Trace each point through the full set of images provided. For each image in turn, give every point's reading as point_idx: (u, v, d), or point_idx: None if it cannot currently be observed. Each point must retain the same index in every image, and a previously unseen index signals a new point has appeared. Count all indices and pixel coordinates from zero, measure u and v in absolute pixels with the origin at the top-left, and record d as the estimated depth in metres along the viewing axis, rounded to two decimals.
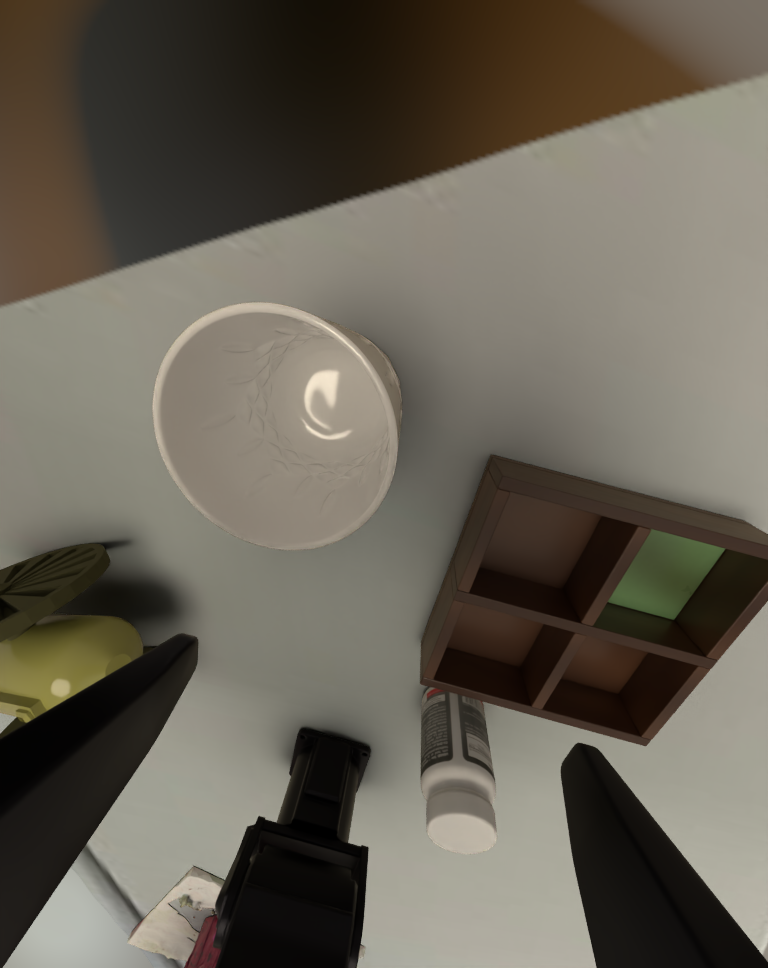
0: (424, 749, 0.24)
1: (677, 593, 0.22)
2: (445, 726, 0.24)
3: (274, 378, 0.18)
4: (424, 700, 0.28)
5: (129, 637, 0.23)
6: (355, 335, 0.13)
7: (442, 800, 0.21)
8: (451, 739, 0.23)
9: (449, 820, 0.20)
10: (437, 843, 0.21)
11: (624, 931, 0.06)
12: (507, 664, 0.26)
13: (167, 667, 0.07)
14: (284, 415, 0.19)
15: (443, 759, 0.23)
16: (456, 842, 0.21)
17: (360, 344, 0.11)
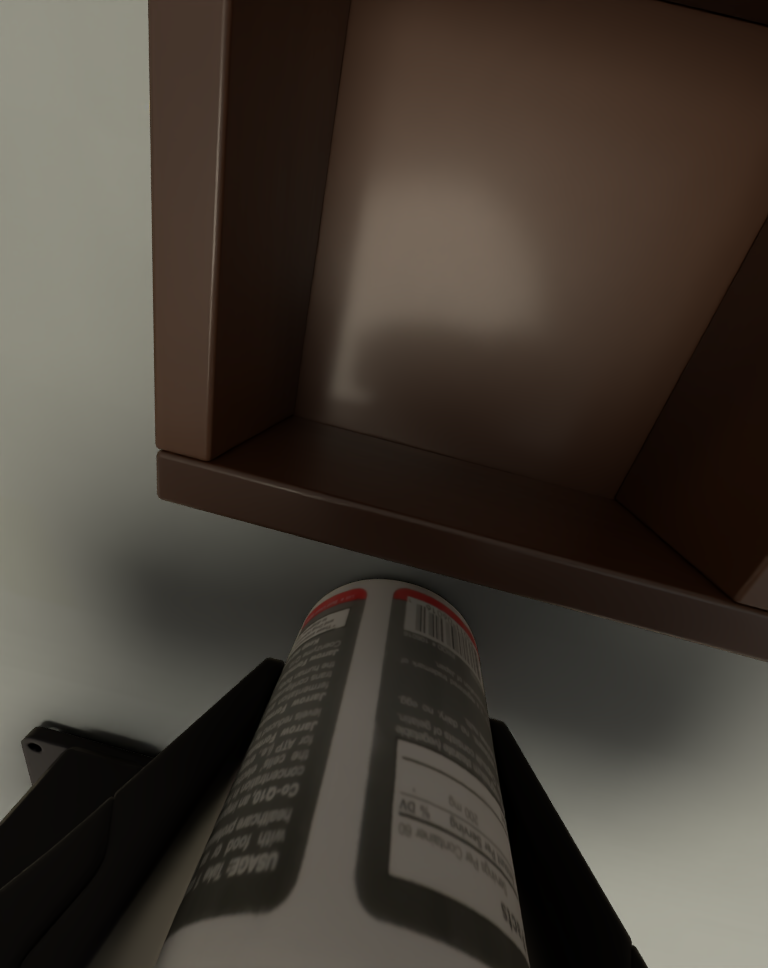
0: None
1: None
2: (314, 713, 0.06)
3: None
4: (297, 637, 0.09)
5: None
6: None
7: None
8: (321, 776, 0.05)
9: None
10: None
11: None
12: (566, 487, 0.07)
13: (266, 695, 0.07)
14: None
15: (240, 896, 0.04)
16: None
17: None
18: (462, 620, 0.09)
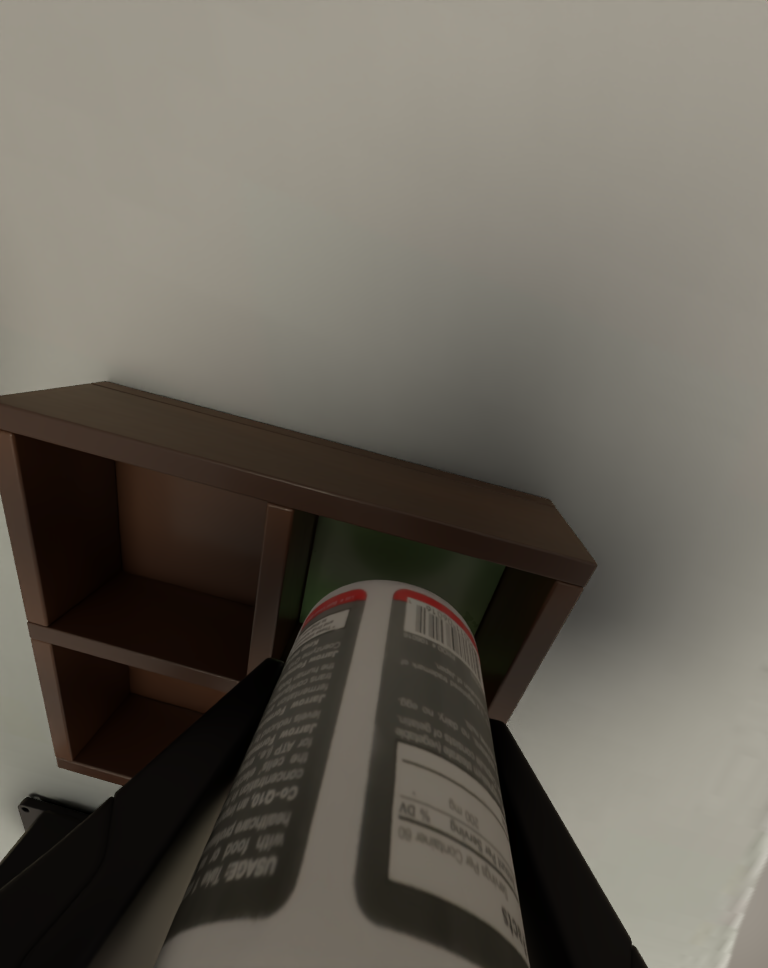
0: None
1: None
2: (312, 716, 0.06)
3: None
4: (296, 638, 0.09)
5: None
6: None
7: None
8: (321, 779, 0.05)
9: None
10: None
11: None
12: None
13: (266, 695, 0.07)
14: None
15: (239, 900, 0.04)
16: None
17: None
18: (462, 621, 0.09)
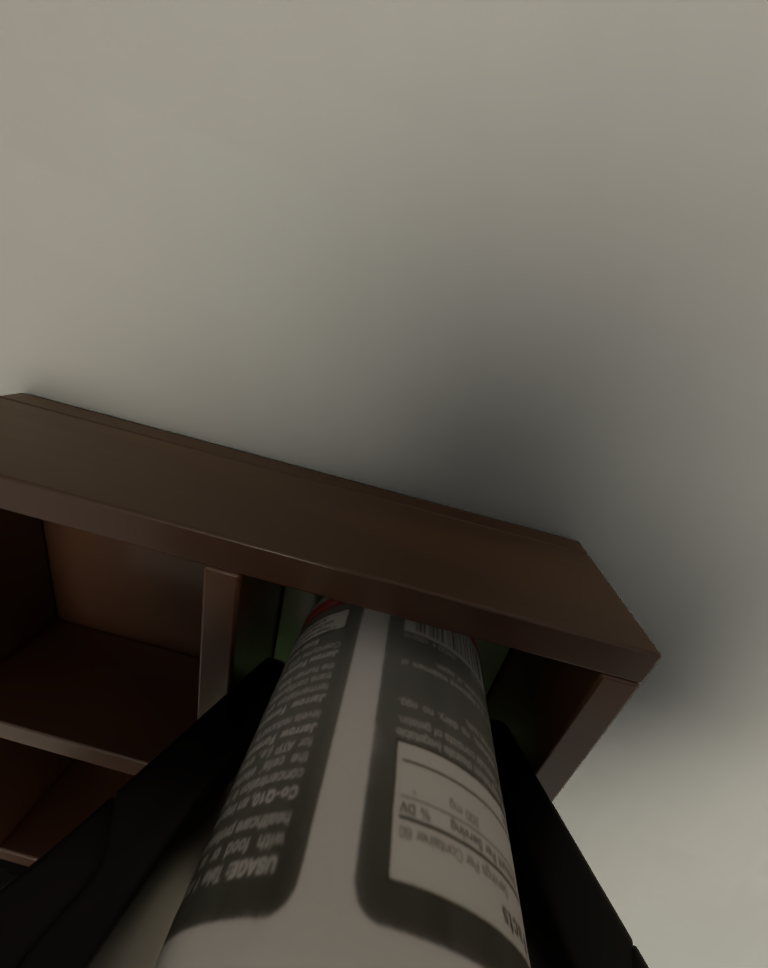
0: None
1: None
2: (313, 715, 0.06)
3: None
4: (296, 638, 0.09)
5: None
6: None
7: None
8: (321, 778, 0.05)
9: None
10: None
11: None
12: None
13: (266, 695, 0.07)
14: None
15: (240, 900, 0.04)
16: None
17: None
18: None
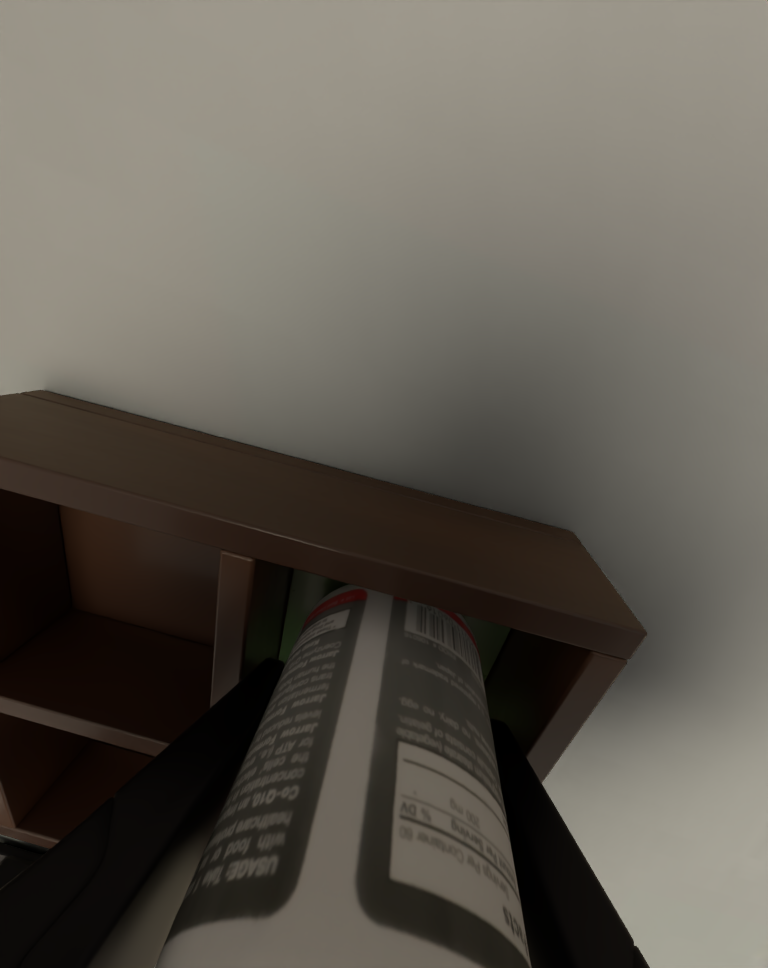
0: (220, 813, 0.06)
1: None
2: (314, 715, 0.06)
3: None
4: (297, 638, 0.09)
5: None
6: None
7: None
8: (322, 778, 0.05)
9: None
10: None
11: None
12: None
13: (266, 695, 0.07)
14: None
15: (240, 900, 0.04)
16: None
17: None
18: (463, 621, 0.09)
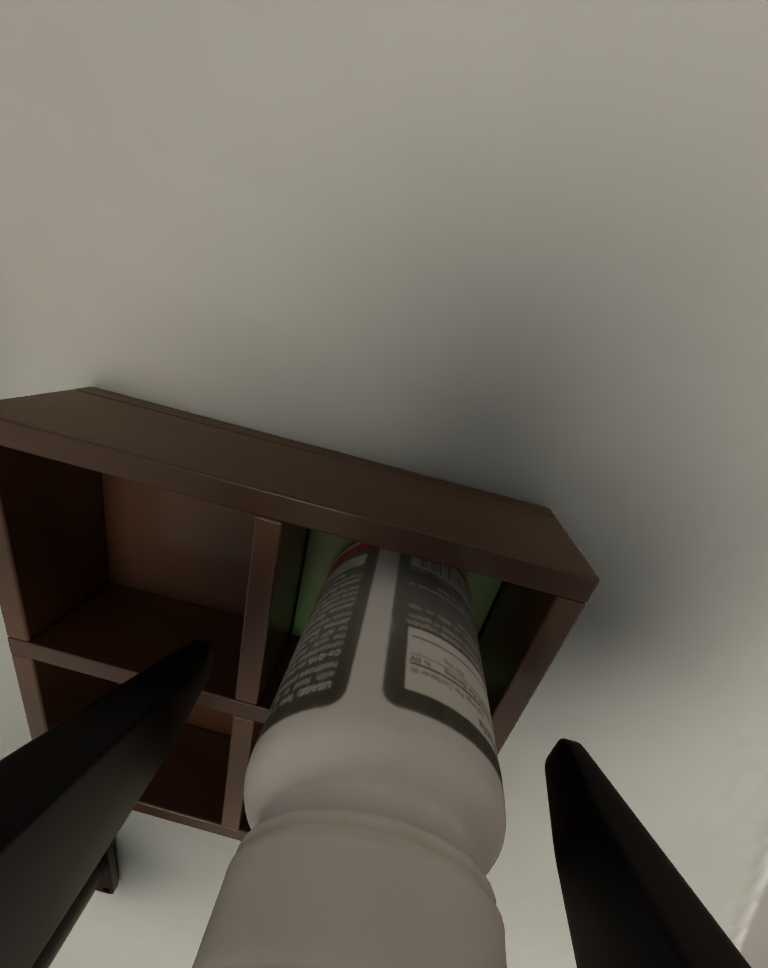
0: (281, 683, 0.08)
1: None
2: (346, 614, 0.08)
3: None
4: (324, 581, 0.11)
5: None
6: None
7: (257, 874, 0.04)
8: (356, 644, 0.07)
9: None
10: None
11: (603, 925, 0.06)
12: None
13: (185, 672, 0.07)
14: None
15: (309, 701, 0.06)
16: None
17: None
18: None
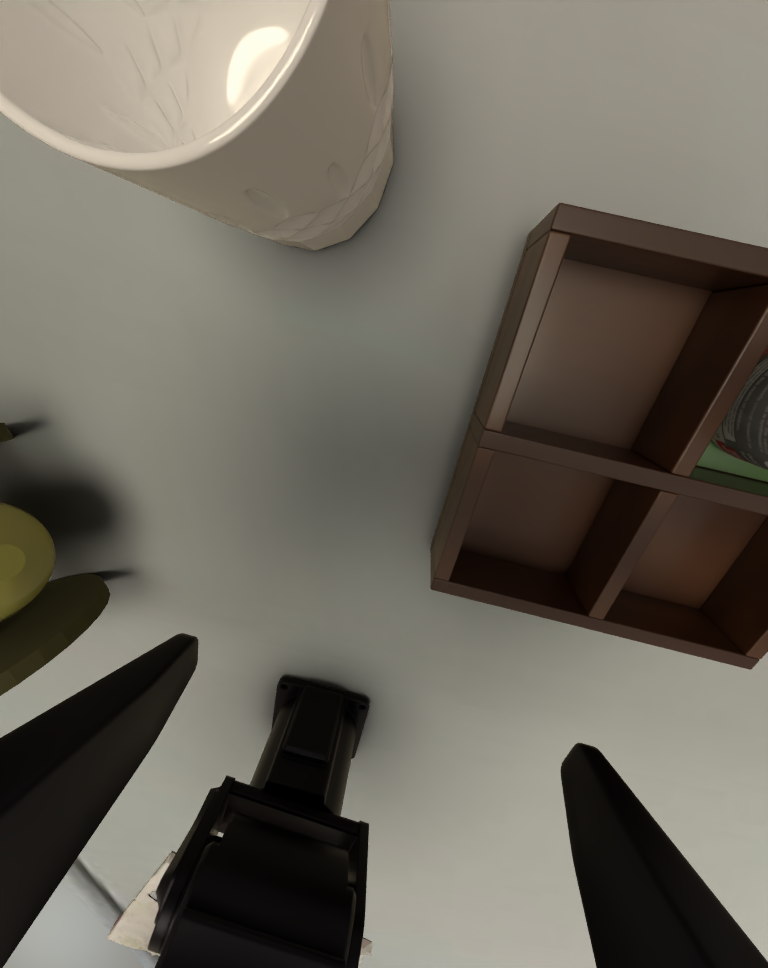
0: None
1: None
2: None
3: (191, 69, 0.11)
4: None
5: (27, 529, 0.16)
6: None
7: None
8: None
9: None
10: None
11: (624, 930, 0.06)
12: (548, 571, 0.19)
13: (167, 667, 0.07)
14: None
15: None
16: None
17: None
18: None
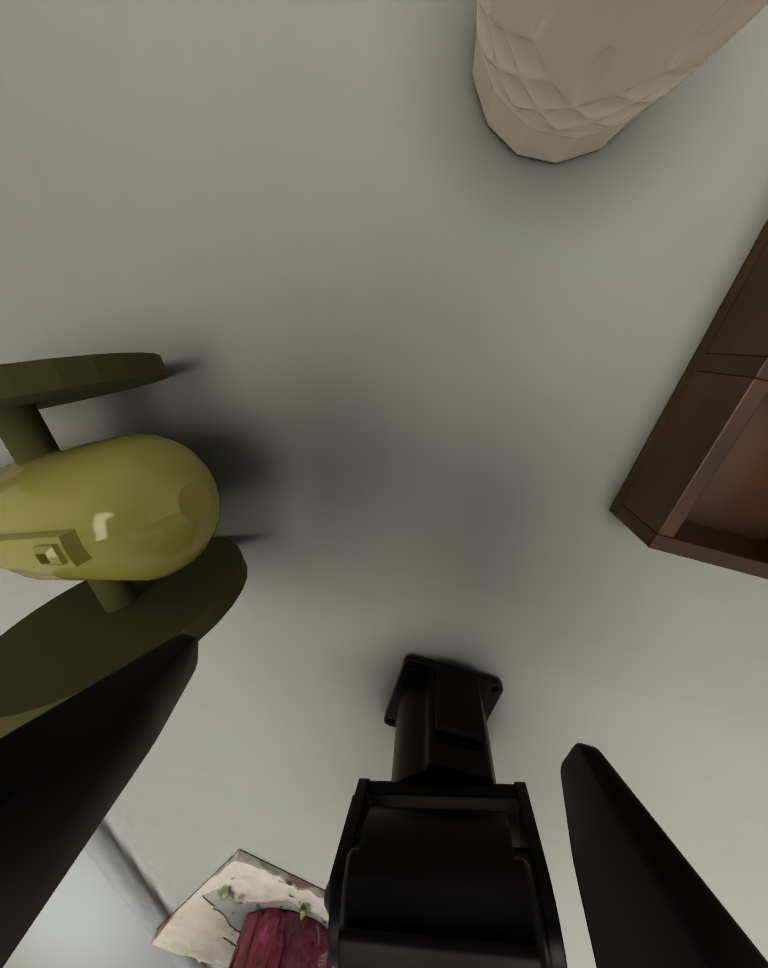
0: None
1: None
2: None
3: None
4: None
5: (205, 470, 0.15)
6: None
7: None
8: None
9: None
10: None
11: (625, 931, 0.06)
12: (746, 536, 0.17)
13: (167, 667, 0.07)
14: None
15: None
16: None
17: None
18: None
